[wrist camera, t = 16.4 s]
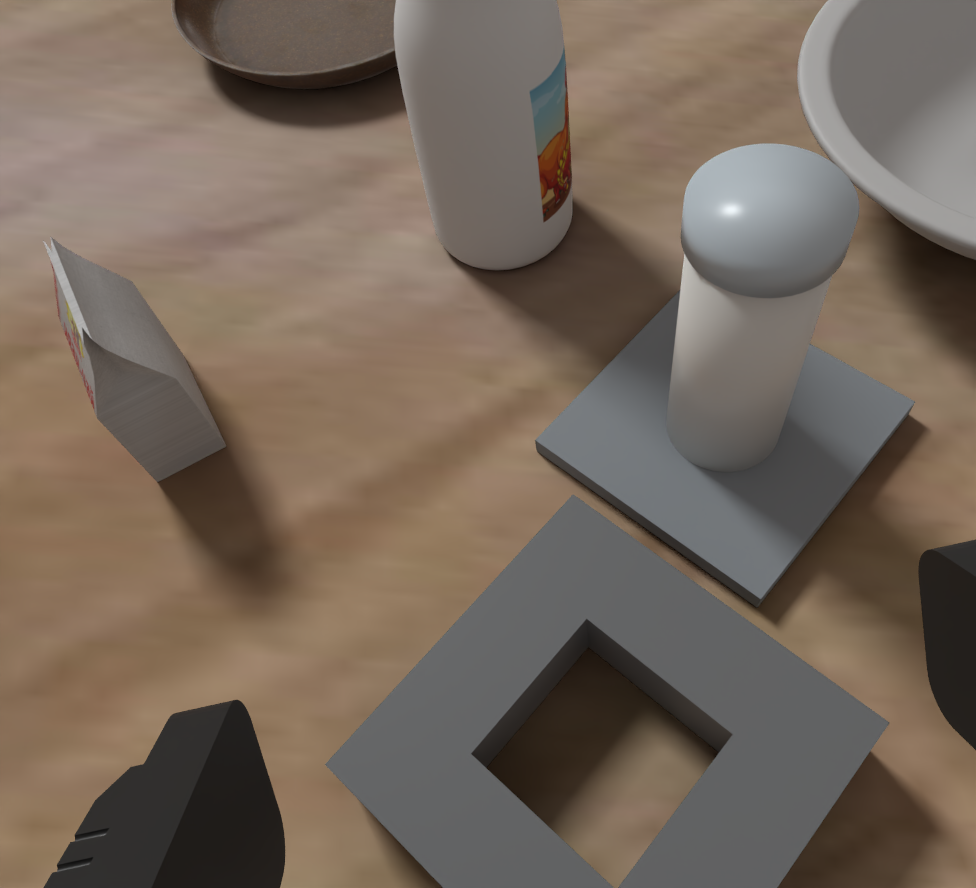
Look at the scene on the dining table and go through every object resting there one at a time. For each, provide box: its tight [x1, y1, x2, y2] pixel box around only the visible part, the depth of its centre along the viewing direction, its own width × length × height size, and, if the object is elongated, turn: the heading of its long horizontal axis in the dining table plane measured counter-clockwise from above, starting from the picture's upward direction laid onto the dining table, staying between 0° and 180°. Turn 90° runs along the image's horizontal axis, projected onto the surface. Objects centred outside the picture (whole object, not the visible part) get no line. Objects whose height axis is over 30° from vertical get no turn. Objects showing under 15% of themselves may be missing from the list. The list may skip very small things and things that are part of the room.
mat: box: [535, 290, 915, 607], centre depth 40 cm, size 12×12×1 cm
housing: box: [325, 495, 889, 888], centre depth 32 cm, size 14×14×4 cm
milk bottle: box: [394, 0, 572, 270], centre depth 40 cm, size 8×8×20 cm
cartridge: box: [666, 144, 859, 472], centre depth 34 cm, size 5×5×14 cm
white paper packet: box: [43, 237, 226, 482], centre depth 41 cm, size 4×7×10 cm, turn 30°
